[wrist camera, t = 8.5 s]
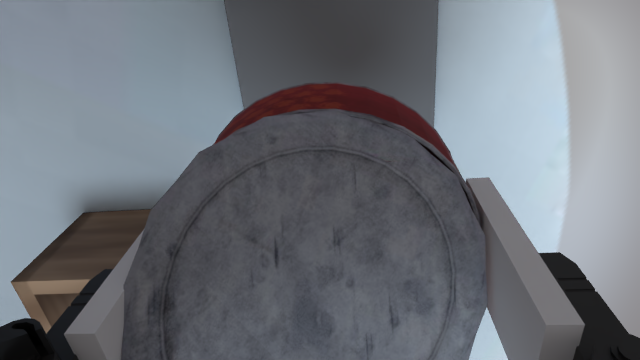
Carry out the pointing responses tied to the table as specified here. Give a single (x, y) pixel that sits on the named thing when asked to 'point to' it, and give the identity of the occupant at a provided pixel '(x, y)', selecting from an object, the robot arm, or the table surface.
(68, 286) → the wooden u-shaped shelf
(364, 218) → the canned food
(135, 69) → the table surface
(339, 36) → the grey rectangular tray
